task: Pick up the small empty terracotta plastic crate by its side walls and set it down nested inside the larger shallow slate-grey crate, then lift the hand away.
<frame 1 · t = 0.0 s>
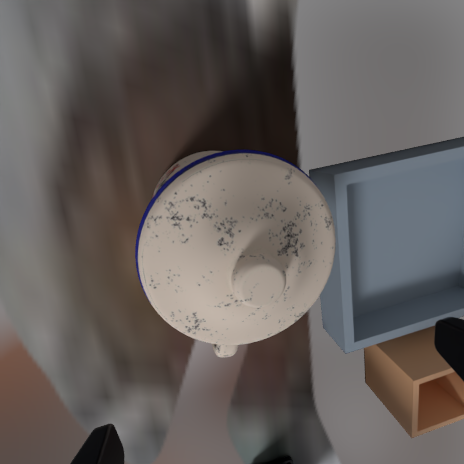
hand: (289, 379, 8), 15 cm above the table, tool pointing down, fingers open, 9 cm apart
small crate: (391, 349, 29), on the table
big crate: (392, 236, 25), on the table
teacup with lid: (211, 231, 22), on the table
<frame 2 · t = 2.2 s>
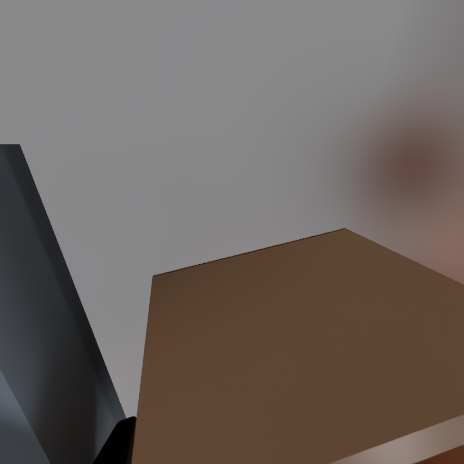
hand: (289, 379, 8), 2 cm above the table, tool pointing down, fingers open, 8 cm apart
small crate: (267, 333, 10), on the table
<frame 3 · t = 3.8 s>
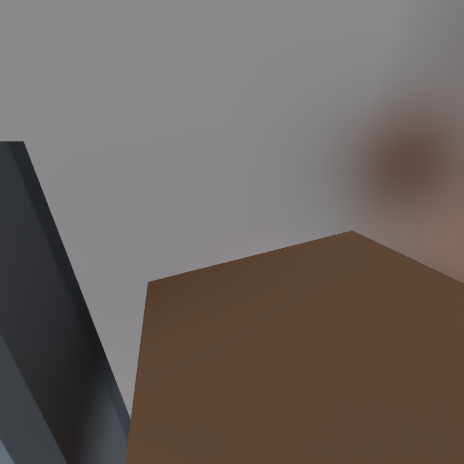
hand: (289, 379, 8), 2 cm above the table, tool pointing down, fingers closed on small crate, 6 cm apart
small crate: (269, 342, 9), point 1 cm above the table, touching gripper
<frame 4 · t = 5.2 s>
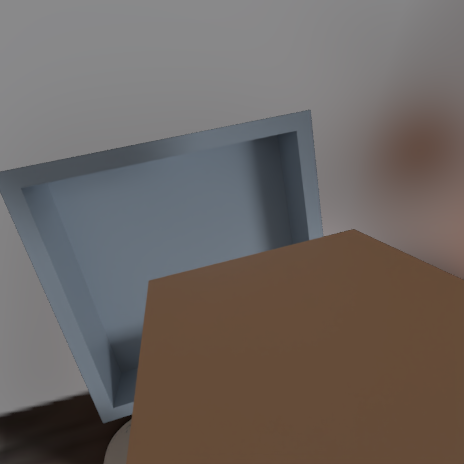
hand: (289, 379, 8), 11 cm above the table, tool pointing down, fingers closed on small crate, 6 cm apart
small crate: (270, 341, 9), point 10 cm above the table, touching gripper
big crate: (193, 255, 18), on the table
teacup with lid: (186, 443, 23), on the table
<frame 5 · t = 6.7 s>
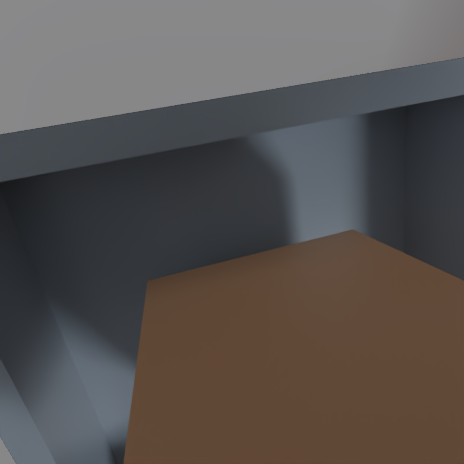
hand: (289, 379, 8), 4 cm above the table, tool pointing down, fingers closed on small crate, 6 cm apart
small crate: (269, 341, 9), point 2 cm above the table, touching gripper
big crate: (247, 303, 12), on the table
when the fingers open (4 cm above the table, at t = 7.6 s): small crate drops 1 cm, resting on big crate.
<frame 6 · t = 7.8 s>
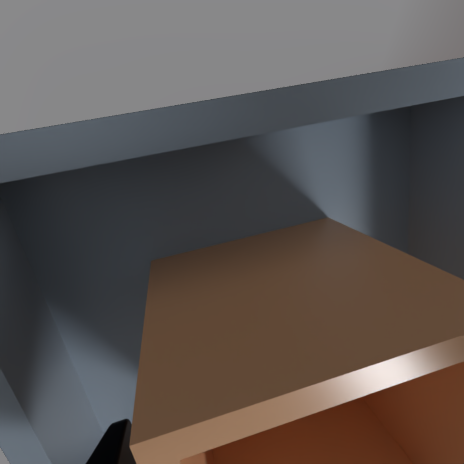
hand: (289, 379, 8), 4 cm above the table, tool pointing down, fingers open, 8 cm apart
small crate: (257, 315, 11), point 1 cm above the table, touching big crate
big crate: (249, 305, 11), on the table
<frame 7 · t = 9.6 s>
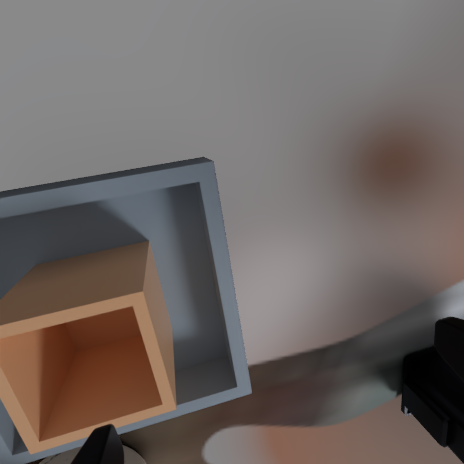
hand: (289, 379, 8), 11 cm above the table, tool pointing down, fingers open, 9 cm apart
small crate: (109, 299, 17), point 1 cm above the table, touching big crate
big crate: (110, 293, 18), on the table
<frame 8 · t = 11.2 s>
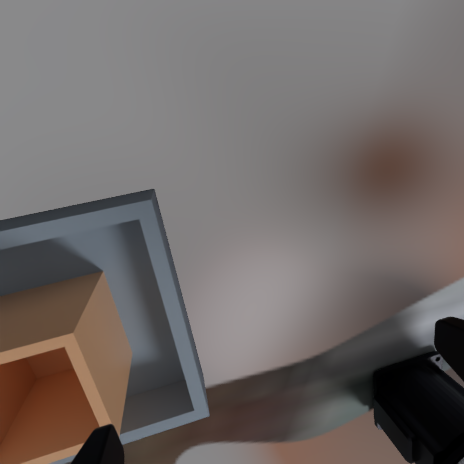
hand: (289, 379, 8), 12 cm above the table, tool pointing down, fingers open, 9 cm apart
small crate: (67, 327, 18), point 1 cm above the table, touching big crate
big crate: (70, 321, 19), on the table
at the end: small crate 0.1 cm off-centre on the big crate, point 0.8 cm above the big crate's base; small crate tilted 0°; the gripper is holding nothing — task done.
